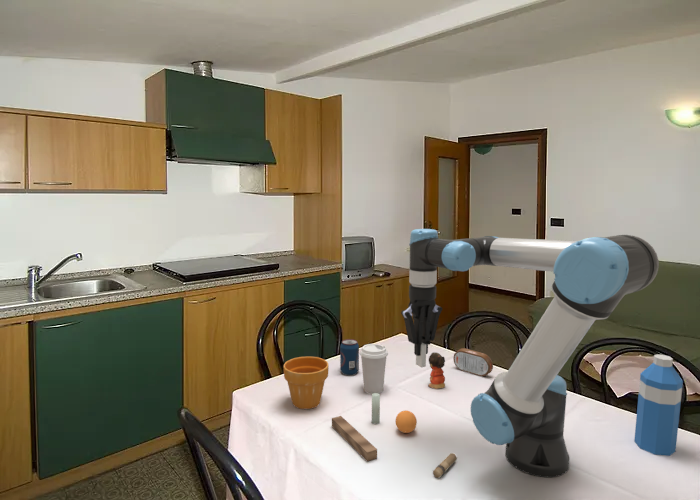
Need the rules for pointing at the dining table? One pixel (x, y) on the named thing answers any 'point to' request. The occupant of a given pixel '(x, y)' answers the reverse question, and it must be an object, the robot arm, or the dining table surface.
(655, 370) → the water bottle
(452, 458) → the pin
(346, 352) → the soda can
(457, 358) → the tin
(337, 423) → the brown wooden bar
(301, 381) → the flower pot
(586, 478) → the dining table surface
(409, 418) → the ball
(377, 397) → the side pin
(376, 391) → the coffee cup
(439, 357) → the figurine
